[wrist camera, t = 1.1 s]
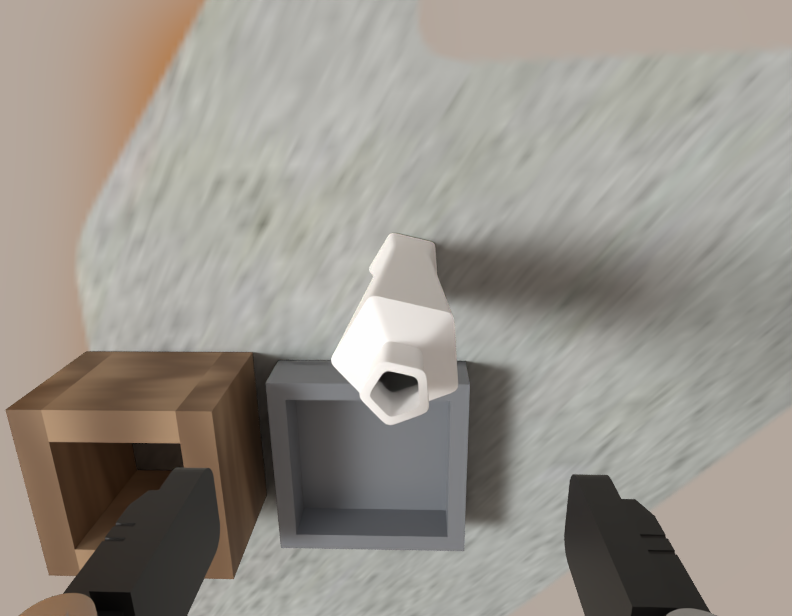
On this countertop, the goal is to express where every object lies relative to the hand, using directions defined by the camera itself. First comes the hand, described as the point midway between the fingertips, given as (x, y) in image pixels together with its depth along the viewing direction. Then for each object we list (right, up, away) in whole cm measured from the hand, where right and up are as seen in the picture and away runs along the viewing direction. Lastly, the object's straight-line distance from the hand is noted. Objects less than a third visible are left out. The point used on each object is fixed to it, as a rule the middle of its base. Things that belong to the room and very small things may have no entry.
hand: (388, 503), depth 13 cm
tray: (-1, -4, +22) cm, 23 cm away
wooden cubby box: (-13, -3, +23) cm, 26 cm away
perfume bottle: (+1, +7, +19) cm, 20 cm away
